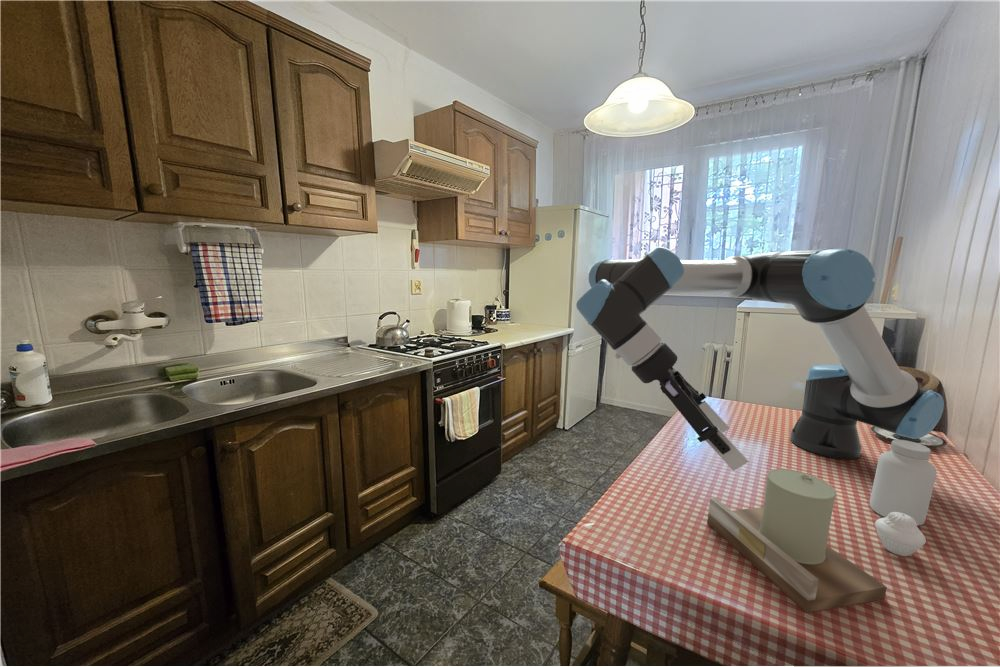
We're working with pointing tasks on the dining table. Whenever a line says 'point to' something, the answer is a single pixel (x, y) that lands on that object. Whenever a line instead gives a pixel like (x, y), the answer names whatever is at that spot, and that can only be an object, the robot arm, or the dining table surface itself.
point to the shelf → (795, 564)
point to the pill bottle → (904, 481)
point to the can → (797, 514)
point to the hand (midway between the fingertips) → (731, 447)
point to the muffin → (900, 534)
